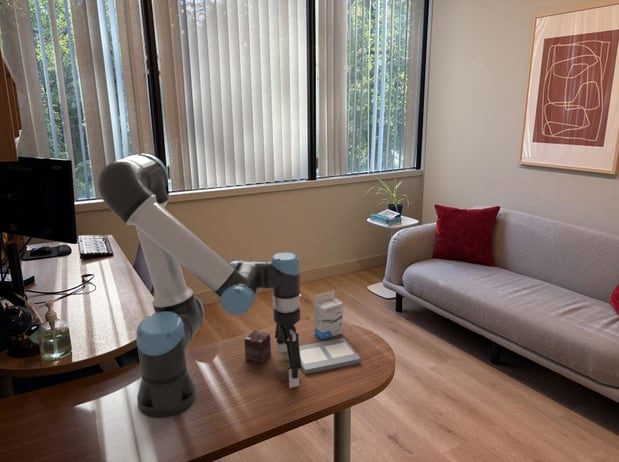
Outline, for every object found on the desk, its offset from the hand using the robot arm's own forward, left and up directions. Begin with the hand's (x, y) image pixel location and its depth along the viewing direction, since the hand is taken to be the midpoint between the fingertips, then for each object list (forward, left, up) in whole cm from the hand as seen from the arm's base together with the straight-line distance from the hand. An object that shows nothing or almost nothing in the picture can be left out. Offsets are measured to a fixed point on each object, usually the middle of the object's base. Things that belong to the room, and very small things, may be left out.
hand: (287, 374), depth 136 cm
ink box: (+20, +18, 0) cm, 27 cm away
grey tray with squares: (+14, +5, 0) cm, 15 cm away
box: (-6, +12, 0) cm, 14 cm away
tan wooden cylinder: (0, 0, 0) cm, 0 cm away
